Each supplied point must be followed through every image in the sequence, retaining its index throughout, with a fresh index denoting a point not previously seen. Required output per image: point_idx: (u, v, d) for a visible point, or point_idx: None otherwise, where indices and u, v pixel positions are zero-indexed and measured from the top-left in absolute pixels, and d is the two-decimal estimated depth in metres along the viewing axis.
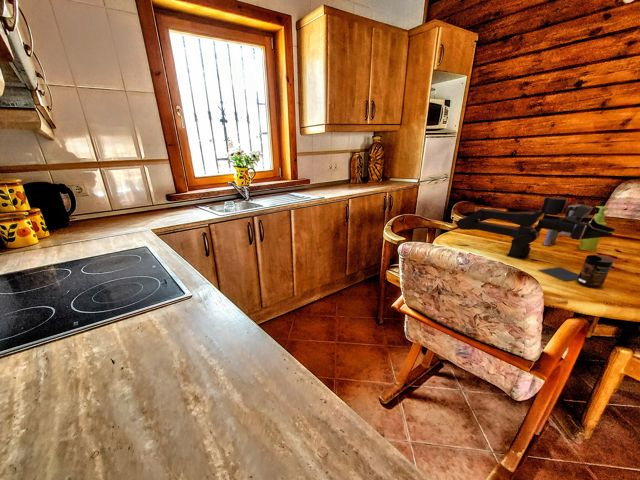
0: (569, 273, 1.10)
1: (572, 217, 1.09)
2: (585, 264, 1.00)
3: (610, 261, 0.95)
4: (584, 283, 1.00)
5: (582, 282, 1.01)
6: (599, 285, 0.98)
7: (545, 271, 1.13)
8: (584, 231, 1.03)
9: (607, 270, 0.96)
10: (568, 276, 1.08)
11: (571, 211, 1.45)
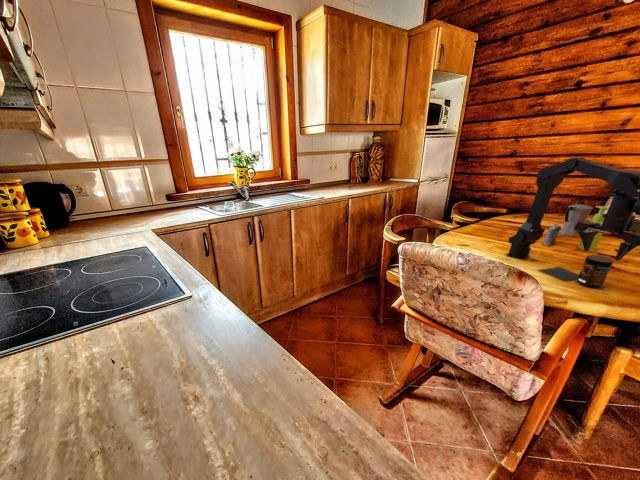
0: (569, 273, 1.10)
1: (634, 223, 0.91)
2: (585, 264, 1.00)
3: (610, 261, 0.95)
4: (584, 283, 1.00)
5: (582, 282, 1.01)
6: (599, 285, 0.98)
7: (545, 271, 1.13)
8: None
9: (607, 270, 0.96)
10: (568, 276, 1.08)
11: (571, 211, 1.45)
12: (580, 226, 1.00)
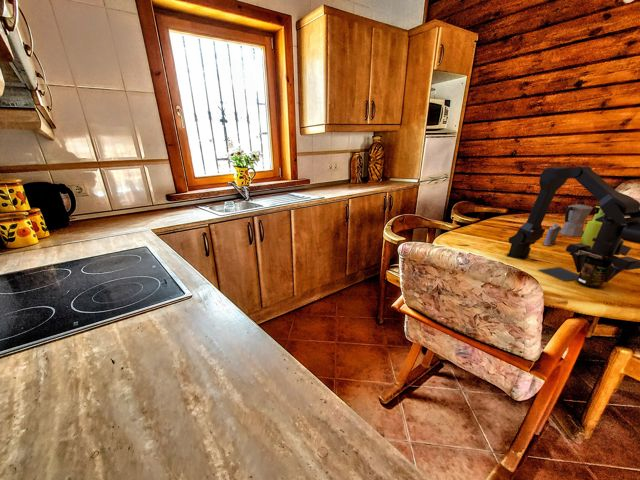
0: (569, 273, 1.10)
1: (622, 247, 0.94)
2: (585, 264, 1.00)
3: (610, 261, 0.95)
4: (584, 283, 1.00)
5: (582, 282, 1.01)
6: (599, 285, 0.98)
7: (545, 271, 1.13)
8: None
9: None
10: (568, 276, 1.08)
11: (571, 211, 1.45)
12: (571, 248, 1.03)
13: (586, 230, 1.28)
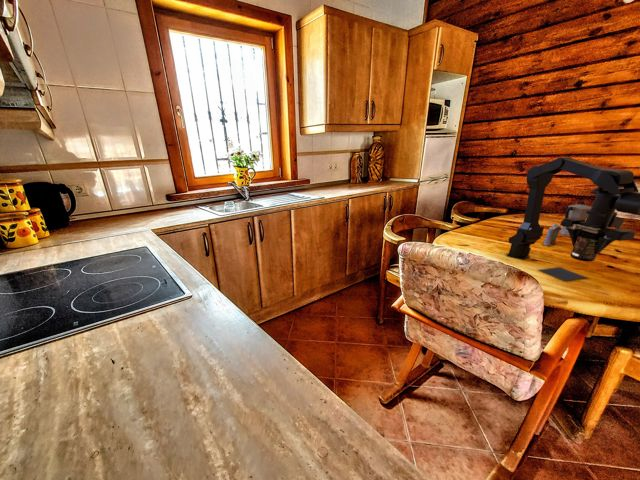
0: (569, 273, 1.10)
1: (616, 219, 0.95)
2: (579, 238, 1.01)
3: (603, 234, 0.96)
4: (577, 257, 1.02)
5: (575, 256, 1.02)
6: (592, 258, 1.00)
7: (545, 271, 1.13)
8: None
9: None
10: (568, 276, 1.08)
11: (571, 211, 1.45)
12: (566, 222, 1.04)
13: None
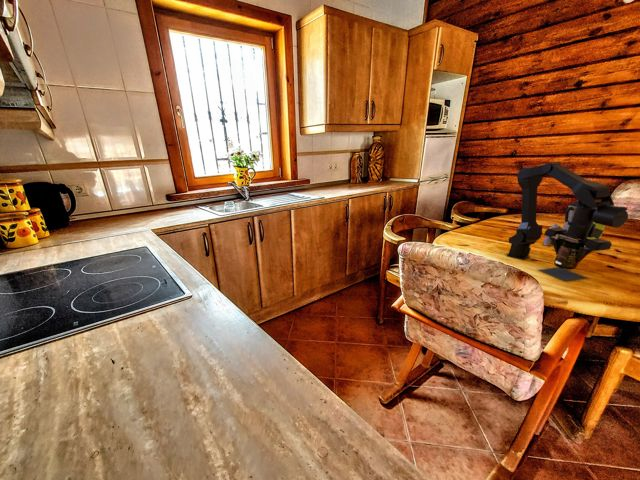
0: (569, 273, 1.10)
1: (595, 230, 1.01)
2: (561, 247, 1.07)
3: (583, 244, 1.02)
4: (560, 265, 1.08)
5: (558, 264, 1.08)
6: (573, 266, 1.06)
7: (545, 271, 1.13)
8: None
9: None
10: (568, 276, 1.08)
11: (571, 211, 1.45)
12: (549, 232, 1.10)
13: None
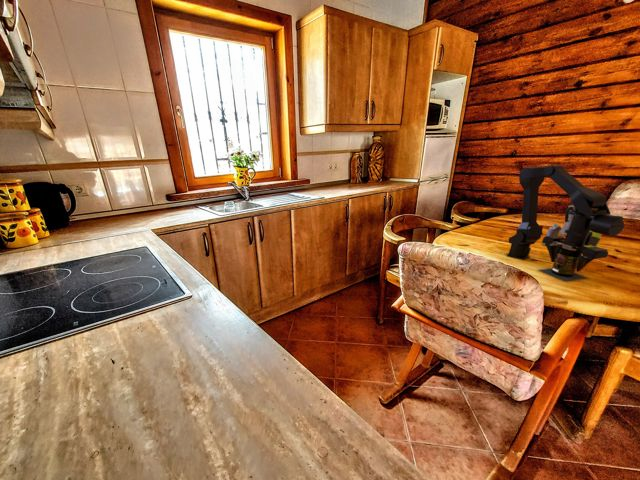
0: None
1: (591, 238, 1.02)
2: (558, 254, 1.08)
3: (580, 251, 1.04)
4: (557, 272, 1.09)
5: (555, 271, 1.09)
6: (570, 274, 1.07)
7: (545, 271, 1.13)
8: None
9: (577, 260, 1.04)
10: None
11: None
12: (547, 240, 1.11)
13: None
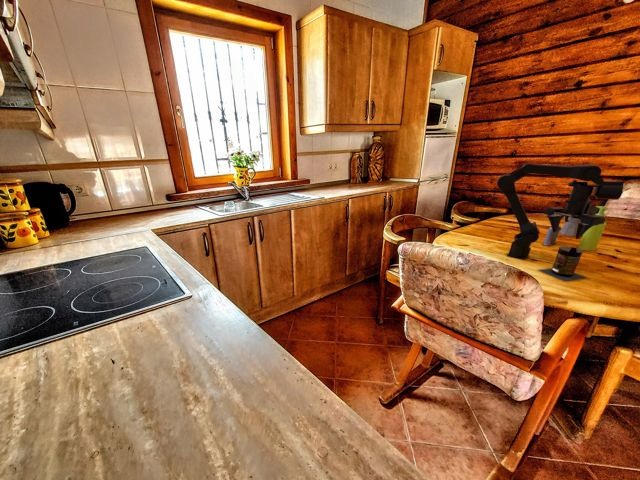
0: None
1: (590, 207, 1.09)
2: (558, 254, 1.08)
3: (580, 251, 1.04)
4: (557, 272, 1.09)
5: (555, 271, 1.09)
6: (570, 274, 1.07)
7: (545, 271, 1.13)
8: None
9: (577, 260, 1.04)
10: None
11: None
12: (549, 211, 1.19)
13: None
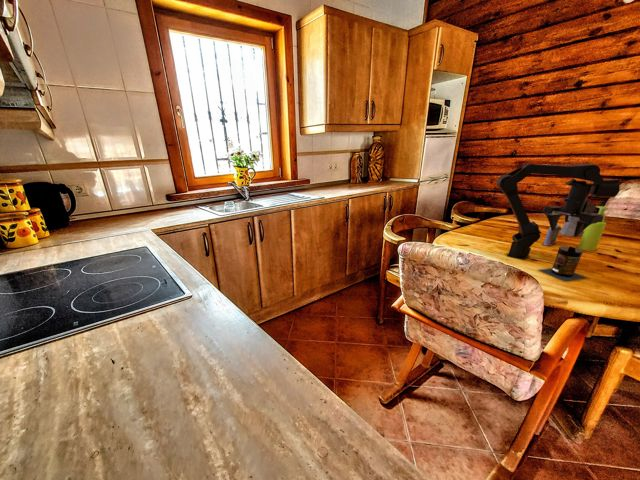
0: None
1: None
2: (558, 254, 1.08)
3: (580, 251, 1.04)
4: (557, 272, 1.09)
5: (555, 271, 1.09)
6: (570, 274, 1.07)
7: (545, 271, 1.13)
8: None
9: (577, 260, 1.04)
10: None
11: None
12: (547, 209, 1.21)
13: (586, 230, 1.28)
